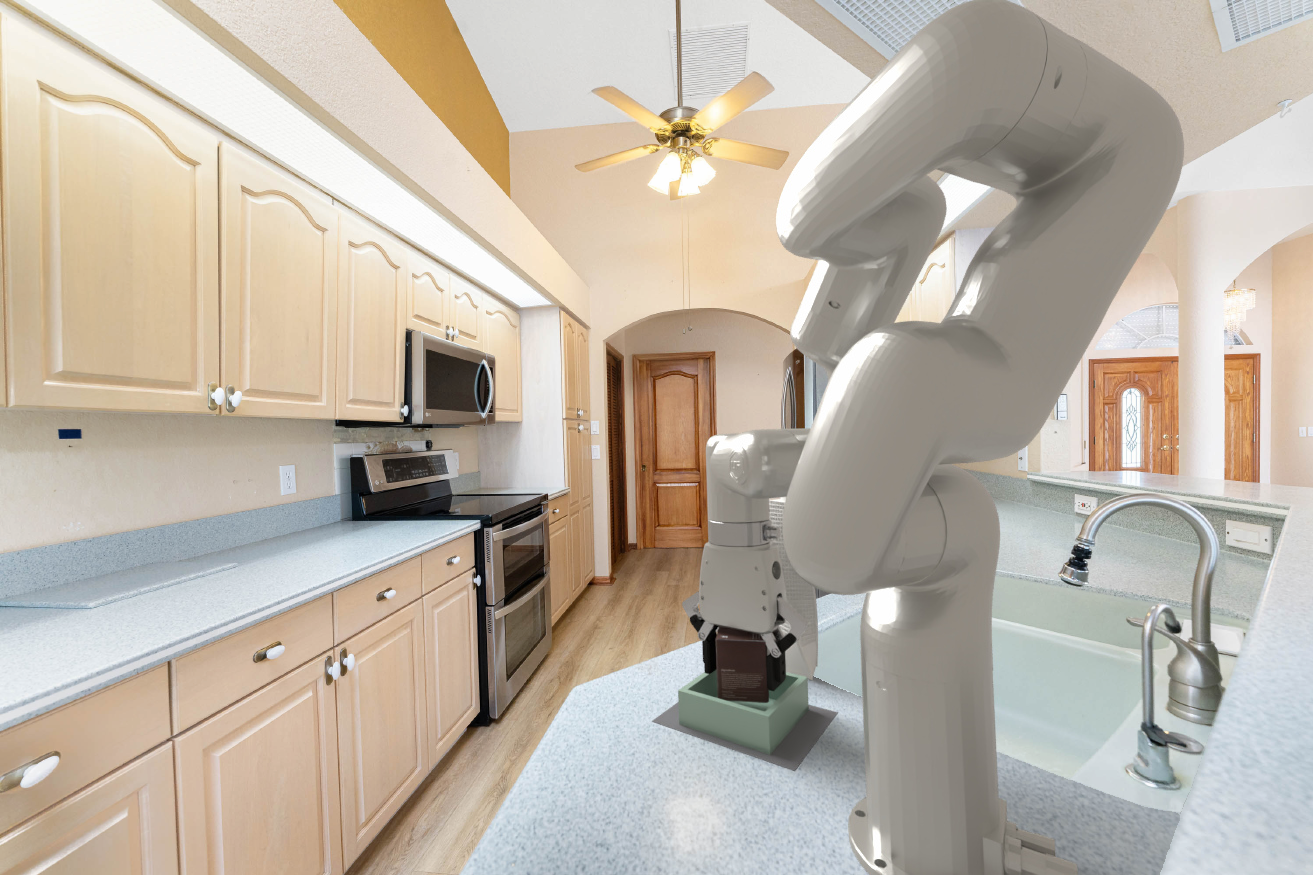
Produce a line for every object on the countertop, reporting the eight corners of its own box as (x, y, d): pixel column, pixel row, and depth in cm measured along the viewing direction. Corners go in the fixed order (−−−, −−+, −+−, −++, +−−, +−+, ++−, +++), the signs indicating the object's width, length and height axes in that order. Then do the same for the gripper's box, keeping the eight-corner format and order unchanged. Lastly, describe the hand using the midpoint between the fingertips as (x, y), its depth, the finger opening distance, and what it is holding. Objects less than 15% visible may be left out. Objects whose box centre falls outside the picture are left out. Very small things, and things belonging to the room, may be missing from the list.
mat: (837, 715, 64) (837, 712, 64) (794, 774, 53) (794, 770, 53) (710, 681, 75) (710, 678, 75) (651, 724, 64) (651, 721, 64)
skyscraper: (771, 660, 82) (765, 481, 83) (825, 667, 79) (818, 481, 80) (762, 683, 75) (754, 485, 75) (821, 691, 72) (813, 485, 72)
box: (769, 705, 61) (766, 641, 61) (716, 701, 62) (714, 638, 62) (769, 682, 67) (766, 623, 67) (721, 679, 68) (719, 622, 68)
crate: (808, 709, 65) (807, 676, 65) (770, 754, 56) (768, 716, 56) (726, 687, 72) (725, 657, 72) (679, 724, 63) (678, 690, 63)
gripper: (819, 534, 63) (824, 683, 62) (694, 524, 73) (698, 652, 72) (795, 545, 56) (800, 710, 56) (663, 533, 67) (667, 672, 66)
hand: (743, 676), depth 64 cm, fingers closed on box, 7 cm apart
